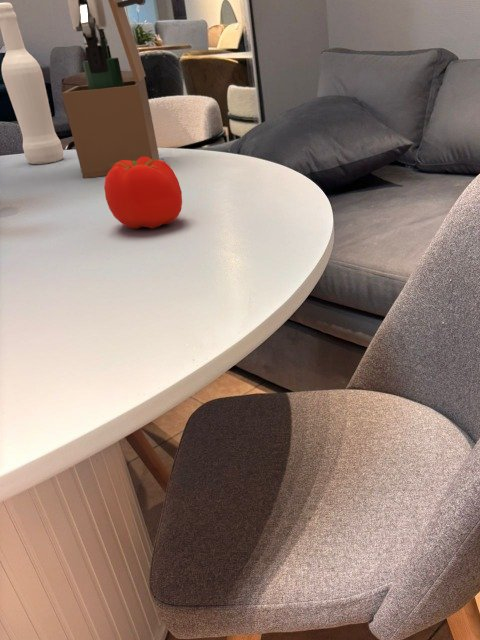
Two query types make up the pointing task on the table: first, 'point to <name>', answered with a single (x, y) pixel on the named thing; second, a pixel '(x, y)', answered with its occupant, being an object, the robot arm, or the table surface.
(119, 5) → the case lid
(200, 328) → the table surface
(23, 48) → the bottle
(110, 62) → the bottle small
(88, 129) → the case
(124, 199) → the tomato
